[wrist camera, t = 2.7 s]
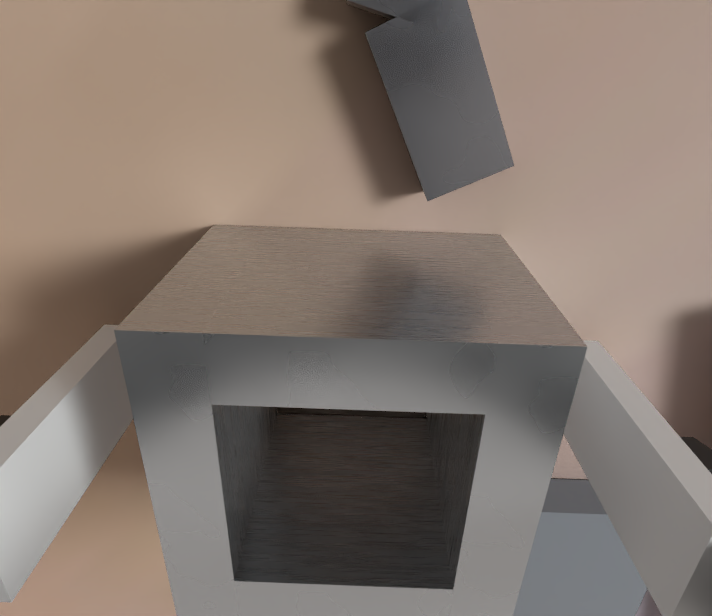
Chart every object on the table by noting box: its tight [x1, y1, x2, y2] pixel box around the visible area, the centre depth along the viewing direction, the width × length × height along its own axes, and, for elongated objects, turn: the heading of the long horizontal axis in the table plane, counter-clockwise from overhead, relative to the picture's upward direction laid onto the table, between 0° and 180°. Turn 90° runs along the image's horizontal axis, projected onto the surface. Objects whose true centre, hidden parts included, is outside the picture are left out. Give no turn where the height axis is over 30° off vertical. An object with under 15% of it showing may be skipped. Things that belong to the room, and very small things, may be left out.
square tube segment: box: [114, 225, 587, 616], centre depth 13 cm, size 8×8×6 cm
